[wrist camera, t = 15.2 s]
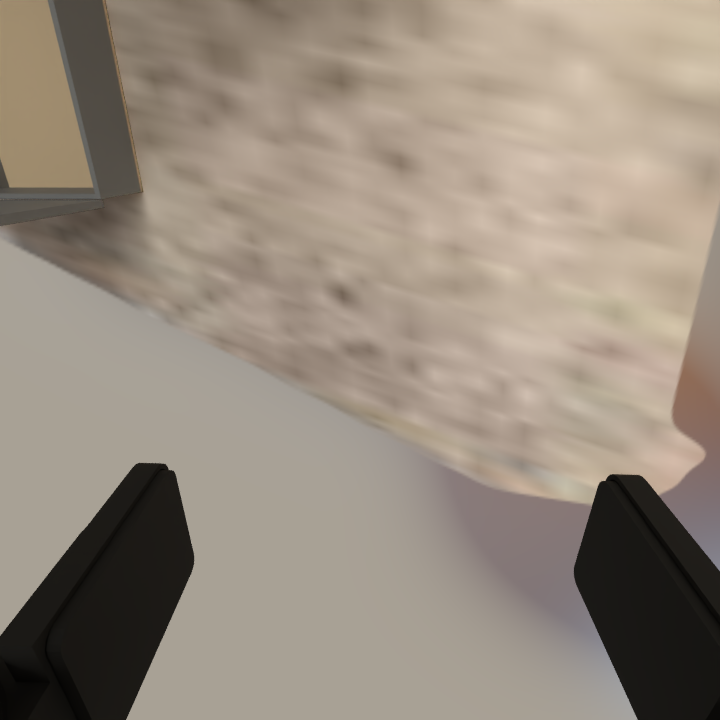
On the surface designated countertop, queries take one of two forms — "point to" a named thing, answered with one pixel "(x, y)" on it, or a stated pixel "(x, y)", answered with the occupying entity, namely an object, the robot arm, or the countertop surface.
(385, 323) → the countertop surface
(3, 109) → the mailer box
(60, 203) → the lid
